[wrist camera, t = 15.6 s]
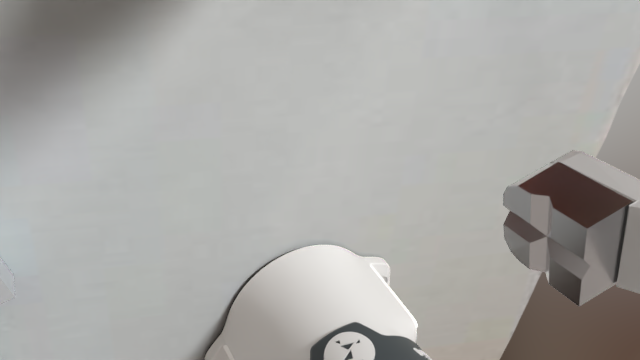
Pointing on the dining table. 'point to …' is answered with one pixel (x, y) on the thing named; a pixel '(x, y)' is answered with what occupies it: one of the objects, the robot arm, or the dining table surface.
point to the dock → (6, 283)
